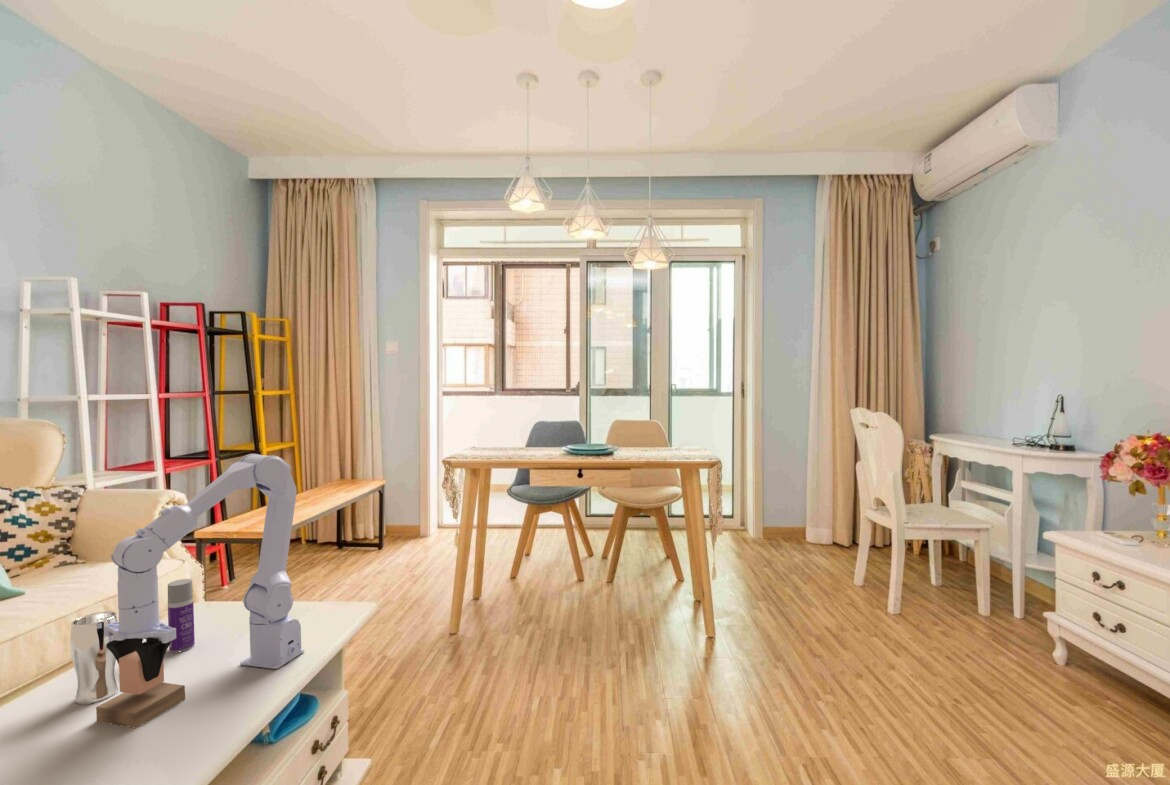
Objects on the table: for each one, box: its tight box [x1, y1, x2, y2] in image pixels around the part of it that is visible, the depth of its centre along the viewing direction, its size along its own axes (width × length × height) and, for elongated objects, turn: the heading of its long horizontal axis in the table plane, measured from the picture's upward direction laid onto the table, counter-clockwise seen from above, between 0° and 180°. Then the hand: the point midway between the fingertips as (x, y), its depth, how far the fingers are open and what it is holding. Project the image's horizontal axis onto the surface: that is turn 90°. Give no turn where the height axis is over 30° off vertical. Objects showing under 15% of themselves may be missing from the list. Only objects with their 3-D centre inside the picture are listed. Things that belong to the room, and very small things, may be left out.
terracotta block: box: [118, 651, 165, 694], centre depth 101 cm, size 4×4×6 cm
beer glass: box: [69, 610, 119, 706], centre depth 106 cm, size 7×7×15 cm
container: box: [167, 578, 196, 653], centre depth 125 cm, size 5×5×15 cm
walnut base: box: [95, 682, 186, 729], centre depth 101 cm, size 9×9×3 cm
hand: (141, 677), depth 101 cm, fingers closed on terracotta block, 4 cm apart
